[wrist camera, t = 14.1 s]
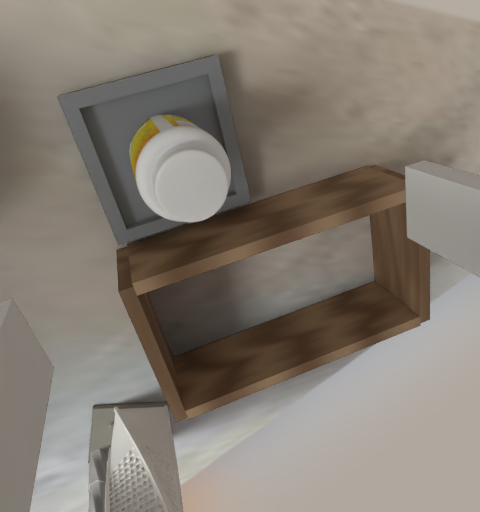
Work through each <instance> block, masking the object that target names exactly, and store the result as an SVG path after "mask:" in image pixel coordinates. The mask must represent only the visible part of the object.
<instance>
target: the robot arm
mask: <svg viewBox="0 0 480 512" xmlns="http://www.w3.org/2000/svg"><path fill="white" fill-rule="evenodd" d="M405 185H406V218H407V238H409V239H411V240H413V241H415V242H417V243H418V244H420V245H422V246H424V247H426V248H427V249H429V250H431V251H433V252H435V253H436V254H438V255H440V256H442V257H444V258H445V259H447V260H449V261H451V262H453V263H455V264H456V265H458V266H460V267H462V268H464V269H465V270H467V271H469V272H471V273H473V274H474V275H476V276H478V277H480V176H479V175H476V174H472V173H468V172H465V171H461V170H458V169H454V168H451V167H447V166H444V165H440V164H436V163H433V162H429V161H426V160H423V161H420V162H417V163H414V164H411V165H408V166H405ZM53 370H54V367H53V365H52V363H51V362H50V360H49V358H48V356H47V355H46V353H45V351H44V350H43V348H42V346H41V345H40V343H39V341H38V340H37V338H36V336H35V335H34V333H33V331H32V330H31V328H30V326H29V325H28V323H27V321H26V319H25V318H24V316H23V314H22V313H21V311H20V309H19V308H18V306H17V304H16V303H15V301H14V299H13V298H12V299H9V300H6V301H3V302H0V512H29V511H30V505H31V500H32V494H33V488H34V482H35V476H36V470H37V464H38V458H39V453H40V447H41V441H42V435H43V429H44V423H45V417H46V412H47V406H48V400H49V394H50V388H51V382H52V376H53Z"/></svg>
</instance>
